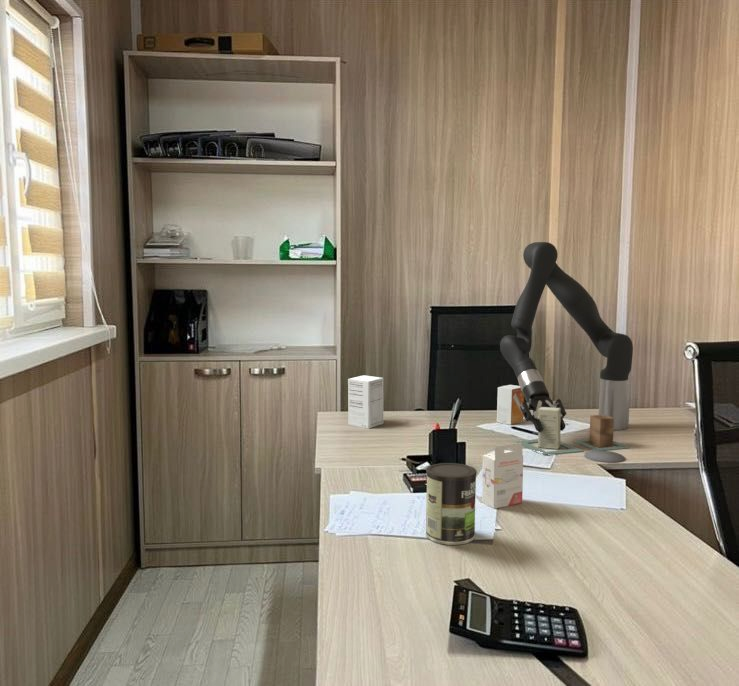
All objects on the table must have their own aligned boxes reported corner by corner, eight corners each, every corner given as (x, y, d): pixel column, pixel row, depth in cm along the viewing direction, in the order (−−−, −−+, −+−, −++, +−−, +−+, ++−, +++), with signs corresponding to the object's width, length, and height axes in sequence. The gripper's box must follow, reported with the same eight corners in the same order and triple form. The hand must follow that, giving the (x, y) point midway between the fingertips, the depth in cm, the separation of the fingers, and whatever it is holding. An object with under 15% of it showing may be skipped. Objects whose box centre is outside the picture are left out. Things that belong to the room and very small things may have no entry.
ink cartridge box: (509, 497, 163) (510, 437, 162) (522, 503, 159) (524, 442, 157) (480, 502, 159) (482, 442, 158) (493, 509, 155) (495, 447, 153)
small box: (510, 425, 238) (512, 389, 236) (496, 422, 242) (497, 386, 241) (523, 421, 243) (524, 386, 242) (509, 419, 248) (510, 384, 247)
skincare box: (560, 446, 210) (561, 407, 208) (558, 449, 206) (559, 410, 204) (539, 444, 212) (540, 405, 211) (537, 447, 208) (538, 408, 207)
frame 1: (553, 439, 219) (553, 437, 219) (583, 451, 204) (583, 450, 204) (515, 442, 214) (515, 441, 214) (543, 455, 199) (543, 454, 199)
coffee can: (482, 532, 141) (484, 467, 140) (462, 549, 133) (464, 480, 131) (438, 522, 147) (439, 459, 145) (416, 538, 138) (417, 471, 136)
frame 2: (604, 439, 219) (604, 437, 219) (629, 448, 208) (629, 447, 208) (573, 442, 215) (573, 440, 215) (596, 451, 204) (596, 450, 204)
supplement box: (363, 420, 245) (363, 374, 243) (384, 423, 240) (384, 377, 238) (347, 425, 237) (347, 378, 235) (368, 429, 232) (368, 380, 230)
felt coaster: (607, 451, 205) (607, 449, 204) (632, 461, 194) (632, 458, 194) (576, 454, 201) (576, 452, 201) (600, 464, 191) (600, 462, 191)
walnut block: (602, 442, 215) (603, 414, 214) (612, 446, 210) (614, 418, 209) (589, 443, 213) (590, 415, 212) (599, 447, 208) (600, 419, 207)
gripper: (517, 380, 212) (536, 425, 202) (557, 378, 216) (577, 422, 206) (508, 394, 217) (526, 438, 207) (547, 392, 222) (566, 434, 212)
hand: (552, 430), depth 207 cm, fingers closed on skincare box, 7 cm apart
